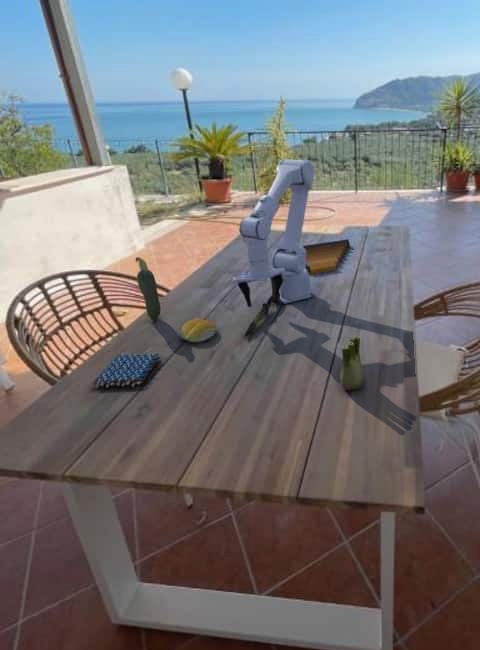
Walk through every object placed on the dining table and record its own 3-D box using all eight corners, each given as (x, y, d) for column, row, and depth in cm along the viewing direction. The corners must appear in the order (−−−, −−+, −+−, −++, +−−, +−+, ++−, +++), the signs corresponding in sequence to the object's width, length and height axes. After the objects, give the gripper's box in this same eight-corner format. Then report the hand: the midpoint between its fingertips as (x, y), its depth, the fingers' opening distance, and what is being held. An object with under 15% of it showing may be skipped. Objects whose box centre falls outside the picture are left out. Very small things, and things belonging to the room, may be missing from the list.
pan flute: (346, 245, 175) (292, 253, 165) (346, 238, 173) (291, 246, 163) (371, 264, 153) (310, 275, 144) (371, 256, 152) (310, 266, 142)
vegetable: (166, 318, 114) (153, 255, 107) (155, 326, 110) (140, 261, 103) (155, 316, 115) (141, 253, 108) (143, 323, 112) (128, 259, 104)
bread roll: (201, 323, 112) (199, 311, 110) (221, 332, 107) (219, 320, 106) (174, 336, 105) (172, 323, 104) (195, 347, 101) (192, 333, 99)
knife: (248, 347, 105) (246, 332, 102) (243, 346, 105) (240, 331, 103) (280, 299, 125) (279, 286, 123) (276, 299, 125) (274, 285, 123)
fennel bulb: (344, 396, 84) (344, 349, 79) (335, 383, 88) (333, 337, 83) (368, 387, 86) (368, 341, 82) (357, 375, 90) (357, 330, 86)
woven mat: (117, 360, 96) (115, 353, 95) (161, 358, 96) (160, 351, 95) (93, 388, 86) (90, 381, 85) (142, 386, 86) (140, 379, 86)
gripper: (235, 268, 101) (240, 314, 106) (287, 258, 108) (290, 302, 113) (228, 260, 107) (234, 304, 112) (279, 251, 114) (282, 292, 119)
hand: (262, 302), depth 113 cm, fingers open, 7 cm apart
